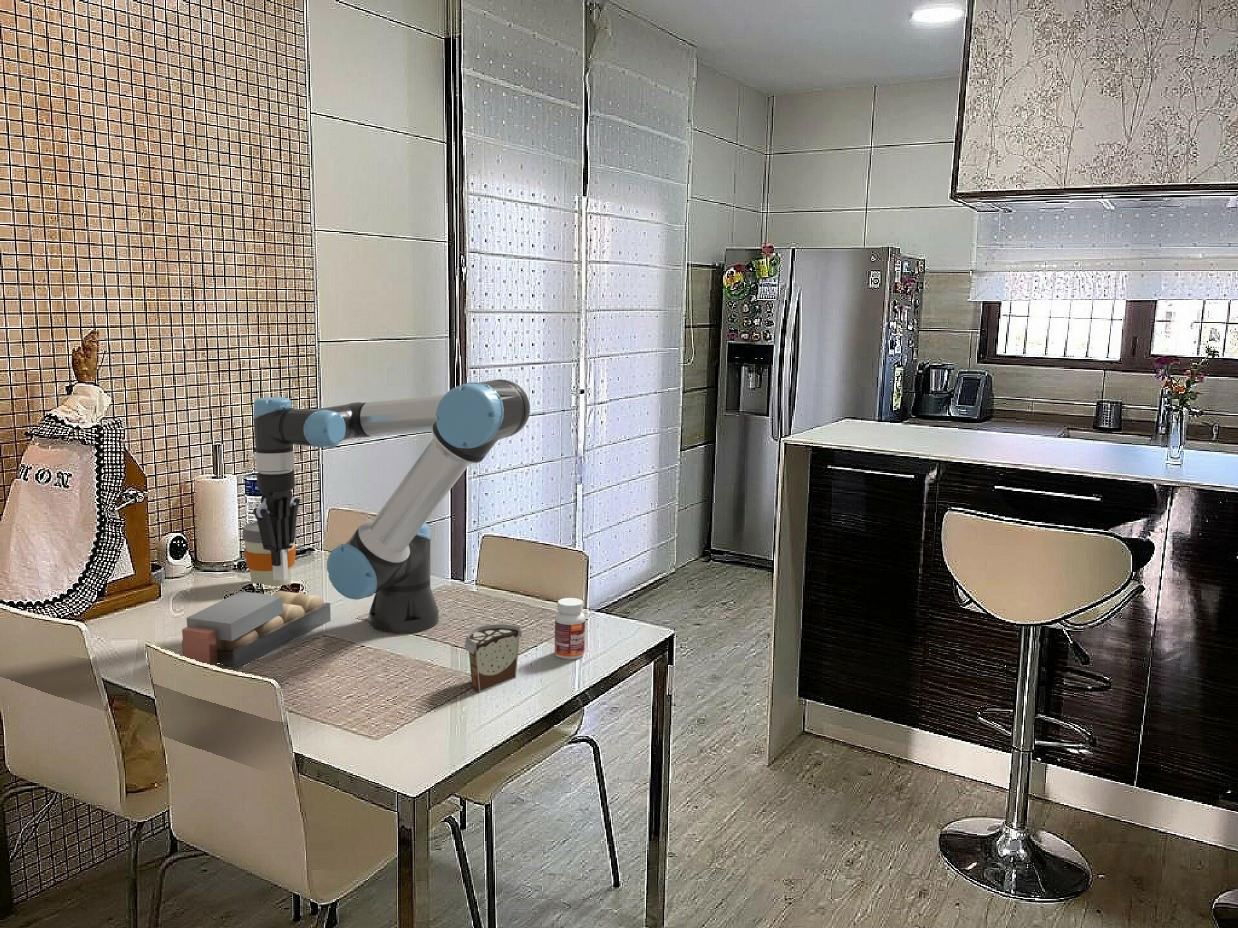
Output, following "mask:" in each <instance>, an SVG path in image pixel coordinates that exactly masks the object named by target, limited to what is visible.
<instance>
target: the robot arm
mask: <svg viewBox="0 0 1238 928" xmlns="http://www.w3.org/2000/svg"><path fill="white" fill-rule="evenodd" d="M529 399H530V398H529V397H528V395H527V393H526V391H524V389H523V388H522V387H521V386H520V385H518V384H517V383H515V382H513V381H511V380H507V379H492V380H487V381H479V382H475V381H472V382H466V383H463V384H461V385H458V386H455V387H453V388H451V389H450V390H448V391H447V392H446V393H445V394H436V395H427V396H426V395H425V396H415V397H404V398H397V399H386V400H385V399H384V400H377V401H368V402H360V401H359V402H356V401H355V402H351V403H347V404H341V405H340V404H339V405H336V406H334V405H333V406H328V407H327V406H326V407H322V408H321V407H320V408H313V409H307V408H306V409H305V408H293V405H292V400H291V399H290V398H288V397H284V396H282V397H280V396H279V397H278V396H272V397H271V396H269V397H260V398H258V399H257V398H256V399H255V400H254V402H253V416H252V421H253V432H254V440H255V441H254V442H255V462H256V463H255V464H256V470H257V471H259V472H257V473H256V489H257V490H258V491H259V492H261V498H260V505H259V507H255V508H253V510H252V513H253V515H254V517H255V518H256V522H258V527H259V531H260V536H261V540H262V545H263V549H265V550H270V551H271V562H272V566H273V579H274V580H283V581H284V580H287V579H288V549H291V548H292V546H293V545H290V544H291V543H292V544H293V543H294V540H295V541H296V537H295V530H296V531H297V528H296V527H297V519H298V518H297V517H298V508H299V507H300V502H301V499H300V498H298V497H294V496H293V492H292V490H294V488H295V487H296V480H295V479H296V478H295V471H294V468H295V451H294V445H295V446H307V447H314V448H315V447H316V448H321V449H322V448H334V447H337V446H338V445H339V444H340V443H341V442H342V441H347V440H353V439H361V438H373V437H380V436H382V437H383V436H393V435H394V436H396V435H407V434H409V435H410V434H422V433H431V432H432V440H430V442H429V443H428V445H426V448H424V450H423V451H422V453H421V454H420V455H419V457H418V458H417V460H416V461H415V462H414V464H413V465H412V467H411V468H410V469H409V471H408V472H407V474H406V475H405V476H404V477H403V479H402V480H401V482H400V483H399V484H398V486H397V487H396V489H395V490H394V491H393V493H392V494H391V495H390V496H389V498H388V499H387V501H386V502H385V504H384V505H383V507H382V508H381V509H380V510H379V511H378V513H377V514H376V516H375V517H374V519H367V520H365V521H363V522H361V523H360V524H359V526H358V527H357V529H356V530H355V532H354V533H353V534H352V536H351V537H350V539H348V541H346V542H345V543H341V544H339V545H337V546H336V547H335V548H334V549H332V550H331V551H330V553H329V555H328V558H327V561H326V571H327V572H328V579H329V581H330V583H331V585H332V586H333V588H334V589H335V590H336V591H337V593H339V594H340V595H341V596H343V597H344V598H347V599H350V600H361V599H362V600H363V599H365V598H369V597H373V600H372V603H371V605H370V609H369V611H368V612H369V613H368V625H369V626H370V627H371V628H372V629H374V630H375V631H380V632H384V633H391V634H406V633H407V634H409V633H415V632H421V631H424V630H428V629H430V628H433V627H434V626H436V625H437V624H438V623H439V620H440V617H439V616H440V614H439V613H440V611H439V608H438V605H437V602H436V599H435V596H434V593H433V590H432V587H431V541H432V538H431V533H430V532H431V531H430V526H429V525H428V524H427V523H426V522H427V521H428V520H429V518H430V517H431V516H432V514H433V513H434V512H435V510H436V509H437V508H438V507H439V505H440V503H442V501H443V500H444V498H445V497H446V496H447V494H448V493H449V492H450V491H451V490H452V488H453V487H454V485H455V484H456V483H457V481H458V480H459V479H460V477H461V476H462V475H463V473H464V472H465V471H466V469H467V468H468V467H469V466H470V465H471V464H479V463H481V462H482V461H483V460H484V459H485V458H486V456H487V455H488V454H489V452H490V451H491V450H492V448H493V447H494V446H495V445H496V443H497V442H498V441H499V440H502V439H506V438H509V437H512V436H515V435H516V434H518V433H519V432H520V431H521V430H523V429H524V427H525V426H526V424H527V423H528V421H529V418H530V413H531V405H530V400H529ZM289 537H290V538H289ZM373 595H374V596H373Z"/></svg>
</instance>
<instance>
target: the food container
mask: <svg viewBox="0 0 1238 928" xmlns="http://www.w3.org/2000/svg"><path fill="white" fill-rule="evenodd" d="M520 637H523V634H522V629H521V626H519V625H514V624H506V623H504V624H503V623H495V624H487V625H481V626H478V627H475V628H472V629H471V630H470V631H469V632H468V633H467V636H466V638H465V643H464V648H465V650H466V651H467V652H468V657H469V666H470V667H469V668H470V669H469V670H470V679H471V680H470V681H471V687H472V689H473V690H474V692H476V693H478V694H480V693H483V692H485V691H488V690H490V689H492V688H495V687H497V686H500V685H502V684H505V683H507V682H509V681H512V680H515V679H516V678H517V670H518V669H517V668H518V659H519V658H518V656H519V647H520Z"/></svg>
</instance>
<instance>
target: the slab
mask: <svg viewBox="0 0 1238 928" xmlns="http://www.w3.org/2000/svg"><path fill="white" fill-rule="evenodd" d="M282 613H283V601H282V596H274V595H273V594H265V593H258V592H257V593H256V592H249V591H238V592H237V593H234V594H232V595H230V596H228V597H226V598H223V599H222V600H220V601H218V602H216V603H213V604H212V605H210V606H208V607H206V608H204V609H201V610H200V611H197V612H196V613H193V614H191V615H190V616H188V617H186V627H188V626H194V627H201V628H207V629H214V630H216V639H220V640H227V641H233V640H235V639H237V638H239V637H240V636H242V635H244V634H246V633H247V632H249V631H251V630H253V629H255V628H256V627H258V626H260V625H262V624H264V623H265V622H267V621H269V620H271V619H273V618H274V617H276V616H278V615H280V614H282Z"/></svg>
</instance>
